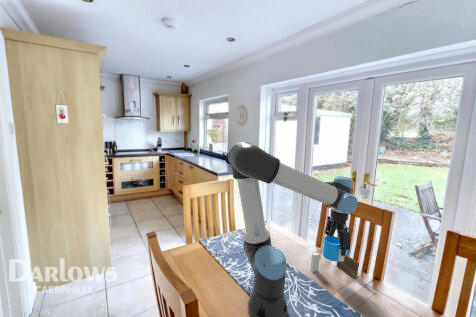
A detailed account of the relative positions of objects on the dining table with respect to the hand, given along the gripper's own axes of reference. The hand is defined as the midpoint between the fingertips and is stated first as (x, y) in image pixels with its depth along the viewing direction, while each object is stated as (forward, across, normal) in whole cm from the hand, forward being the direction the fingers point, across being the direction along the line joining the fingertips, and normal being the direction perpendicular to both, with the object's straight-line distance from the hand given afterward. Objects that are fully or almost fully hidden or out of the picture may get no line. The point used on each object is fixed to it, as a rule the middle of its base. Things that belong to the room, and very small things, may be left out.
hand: (334, 255), depth 106 cm
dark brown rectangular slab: (+11, +1, -9) cm, 14 cm away
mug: (0, -1, 0) cm, 1 cm away
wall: (+11, +6, -1) cm, 12 cm away
